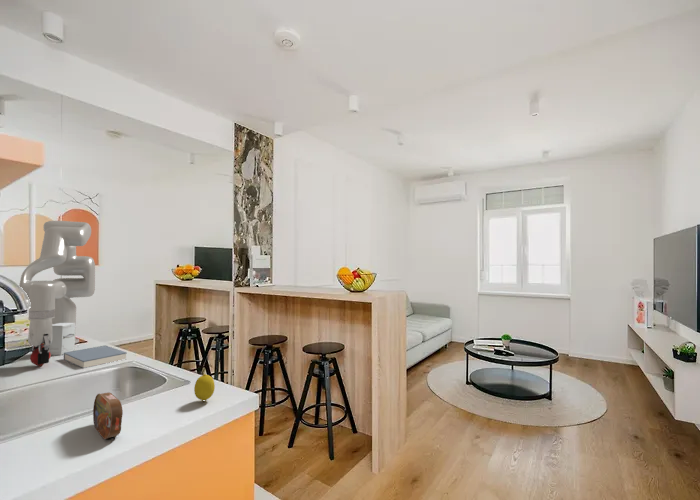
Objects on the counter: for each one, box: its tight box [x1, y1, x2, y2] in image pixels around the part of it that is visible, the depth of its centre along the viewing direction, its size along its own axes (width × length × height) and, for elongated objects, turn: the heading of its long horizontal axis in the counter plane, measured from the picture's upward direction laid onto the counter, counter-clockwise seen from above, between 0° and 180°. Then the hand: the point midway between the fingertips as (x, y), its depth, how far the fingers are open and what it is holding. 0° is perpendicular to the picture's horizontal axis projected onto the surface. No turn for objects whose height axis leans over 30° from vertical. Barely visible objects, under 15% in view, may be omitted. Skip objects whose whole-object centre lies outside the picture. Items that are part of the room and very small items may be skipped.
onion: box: [29, 347, 52, 367], centre depth 132 cm, size 6×6×8 cm
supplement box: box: [49, 322, 77, 356], centre depth 151 cm, size 7×7×13 cm
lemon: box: [194, 373, 216, 401], centre depth 102 cm, size 6×6×8 cm
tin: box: [92, 392, 124, 440], centre depth 84 cm, size 15×3×8 cm, turn 48°
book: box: [63, 345, 127, 369], centre depth 143 cm, size 20×15×3 cm
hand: (40, 361), depth 132 cm, fingers closed on onion, 5 cm apart
